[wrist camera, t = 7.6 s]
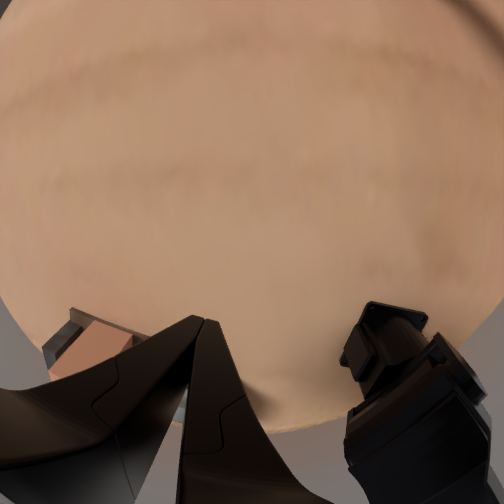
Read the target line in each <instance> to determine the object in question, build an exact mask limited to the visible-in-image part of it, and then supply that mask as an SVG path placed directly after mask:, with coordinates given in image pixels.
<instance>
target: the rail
mask: <svg viewBox="0 0 504 504" xmlns="http://www.w3.org/2000/svg"><path fill="white" fill-rule="evenodd" d="M94 320H96V321H98V322H101V323H103V324H106V325H109V326H111V327H114V328H116V329H119V330H122V331H125V332H127V333H130V334H132V346H134V345H136V344H138V343H140V342H142V341H143V340H145V339H147V338H149V336H146V335H143V334H140V333H137V332H134V331H131V330H129V329H126V328H123V327H120V326H118V325H115V324H112V323H110V322H107V321H104V320H102V319H99V318H97V317H94V316H92V315H89V314H87V313H84V312H82V311H80V310H77V309H75V308H73V307H72V308H71V309H70V320H69V321H68V322H67V323H66V324H65V325H64V326H63V327H62V328H61V329H60V330H59V331H58V332H57V333H56V334H55V335H54V336H52V337H51V338H50V339H49V340H48V341H47V342H46V343H45V344H44V345H43V346H42V350H43V354H44V358H45V361H46V365H47V368H48V370H49V369H50V368H51V367H52V366H53V365H54V364H55V362H56V361H57V360H58V359H59V358H60V357H61V356H62V355H63V353H64V352H65V351H66V350H67V349H68V348H69V347H70V346H71V345H72V344H73V343H74V341H75V340H76V339H77V338H78V337H79V336H80V335H81V334H82V333H83V332H84V331H85V330H86V329H87V328H88V327H89V325H90V324H91V323H92V322H93V321H94ZM187 391H188V386H187V389H186V391H185V393H184V395H183V398H182V400H181V402H180V404H179V406H178V409H177V411H176V413H175V415H174V417H173V419H172V420H173V421H176V422H180V423H183V422H184V414H185V406H186V398H187Z"/></svg>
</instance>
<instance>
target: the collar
mask: <svg viewBox="0 0 504 504" xmlns="http://www.w3.org/2000/svg"><path fill="white" fill-rule="evenodd" d="M130 347H132V334H130V333H127V332H125V331H122V330H119V329H116V328H114V327H111V326H109V325H106V324H103V323H101V322H98V321H96V320H94V321H93V322H92V323H91V324H90V325H89V327H88V328H87V329H86V330H85V331H84V332H83V333H82V334H81V335H80V336H79V337H78V338H77V339H76V340H75V341H74V343H73V344H72V345H71V346H70V347H69V348H68V349H67V350H66V351H65V352H64V353H63V355H62V356H61V357H60V358H59V359H58V360H57V361H56V362H55V364H54V365H53V366H52V367H51V368H50V369H49V370H48V372H49V375H50V378H51V381H55V380H58V379H61V378H64V377H67V376H70V375H72V374H75V373H77V372H80V371H83V370H85V369H88V368H90V367H92V366H94V365H96V364H98V363H101V362H103V361H105V360H107V359H109V358H111V357H114V356H115V355H117V354H119V353H120V352H122V351H124V350H126V349H128V348H130Z"/></svg>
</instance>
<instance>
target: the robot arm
mask: <svg viewBox="0 0 504 504" xmlns="http://www.w3.org/2000/svg"><path fill="white" fill-rule="evenodd" d="M372 306H374V307H373V309H371V310H369V309H370V307H372ZM422 318H423V319H422ZM421 319H422V320H421ZM427 319H428V316H427V315H426V313H424V312H420V311H415V310H410V309H406V308H401V307H397V306H392V305H387V304H383V303H378V302H374V301H371V302H368V303H367V304H366V306H365V308H364V310H363V312H362V315H361V317H360V319H359V321H358V323H357V324H356V325H355V326H354V328H353V330H352V332H351V334H350V336H349V338H348V340H347V342H346V344H345V346H344V352H343V354H342V356H341V357H340V360H339V362H340V365H341V366H343V367H349V368H350V370H351V373H352V376H353V379H354V381H355V382H359V385H360V388H361V391H362V394H363V397H364V399H365V401H363V402H362V403H361V404H360V405H358V406H357V407H356V408H355V407H354V408H352V409H351V410H349V411H348V416H347V426H346V436H345V438H344V443H343V444H344V454H345V455H344V456H345V459H346V461H347V463H348V465H349V468H348V470H349V472H350V473H351V474H352V475H353V476H354V477H355V478H356V480H357V481H358V482H359V484H360V485H361V487H362V488H363V490H364V492H365V494H366V496H367V498H368V501H369V503H370V504H504V489H503V487H502V485H501V483H500V482H499V480H498V478H497V476H496V474H495V473H494V471H493V469H492V467H491V466H490V453H491V432H492V421H491V417H490V415H489V414H488V412H487V411H486V409H485V408H484V406H483V405H482V403H481V401H482V400H483V399H484V398H485V397H486V396H487V393H486V391H485V389H484V387H483V385H482V383H481V382H480V380H479V378H478V376H477V375H476V373H475V372H474V371H473V369H472V368H471V367H470V366H469V364H468V363H467V362H466V361H465V359H464V358H463V357H462V356H461V355H460V354H459V353H458V351H457V350H456V349H455V348H454V347H453V346H452V345H451V344H450V343H449V342H448V341H447V340H446V339H445V338H444V337H443V336H442V335H441V334H440V333H439V332H437V333H436V334H435V335H434V337H433V339H432V341H431V342H430V343H429V342H428V341H427V340H426V338H425V337H424V336H423V334H422V333H421V331H422V329H423V327H424V326H425V324H426V322H427ZM345 360H347V361H346V362H344V361H345ZM187 386H188V391H187V398H186V406H185V414H184V422H183V430H182V440H181V448H180V459H179V468H178V479H177V491H176V503H175V504H334V503H332V502H330V501H327V500H326V499H323V498H321V497H319V496H317V495H315V494H314V493H312V492H310V491H309V490H308V489H306V488H305V487H304V486H303V485H302V484H301V483H299V481H298V480H297V479H296V478H295V477H294V475H293V474H292V472H291V471H290V470H289V468H288V467H287V465H286V464H285V462H284V461H283V459H282V458H281V456H280V455H279V453H278V452H277V450H276V449H275V447H274V446H273V444H272V443H271V441H270V440H269V438H268V437H267V435H266V433H265V431H264V430H263V428H262V426H261V425H260V423H259V421H258V419H257V417H256V415H255V413H254V410H253V408H252V406H251V404H250V401H249V399H248V397H247V394H246V392H245V389H244V387H243V384H242V382H241V379H240V377H239V374H238V371H237V369H236V366H235V364H234V361H233V359H232V356H231V353H230V351H229V348H228V345H227V343H226V340H225V337H224V334H223V332H222V329H221V326H220V323H219V322H218V321H214V320H211V319H204V318H203V317H199V316H196V315H190V316H188V317H186V318H185V319H183V320H181V321H179V322H177V323H175V324H173V325H172V326H170V327H168V328H166V329H164V330H162V331H160V332H159V333H157V334H155V335H153V336H151V337H149V338H147V339H145V340H143V341H142V342H140V343H138V344H136V345H134V346H132V347H130V348H128V349H126V350H124V351H122V352H120V353H119V354H117V355H115V356H114V357H111V358H109V359H107V360H105V361H103V362H101V363H98V364H96V365H94V366H92V367H90V368H88V369H85V370H83V371H80V372H77V373H75V374H72V375H70V376H67V377H64V378H61V379H58V380H55V381H52V382H49V383H46V384H43V385H40V386H37V387H34V388H30V389H27V390H6V389H2V388H0V504H134V503H135V500H136V498H137V496H138V493H139V491H140V489H141V487H142V485H143V483H144V481H145V478H146V476H147V474H148V472H149V469H150V467H151V465H152V463H153V461H154V459H155V456H156V454H157V452H158V450H159V448H160V445H161V443H162V441H163V439H164V437H165V435H166V433H167V430H168V428H169V426H170V424H171V422H172V419H173V417H174V415H175V413H176V411H177V409H178V406H179V404H180V402H181V400H182V398H183V395H184V393H185V391H186V389H187Z"/></svg>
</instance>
